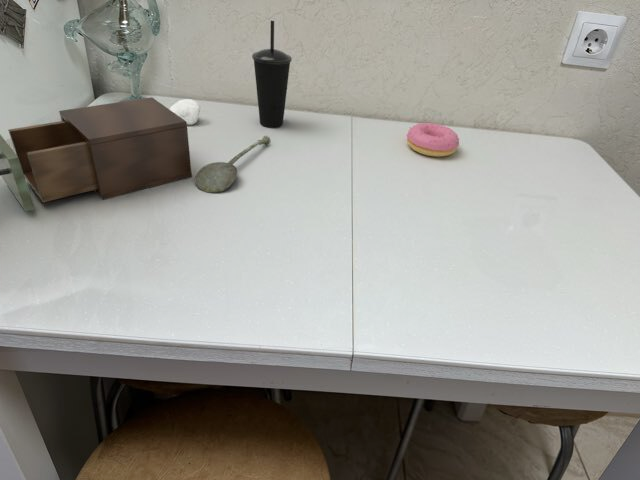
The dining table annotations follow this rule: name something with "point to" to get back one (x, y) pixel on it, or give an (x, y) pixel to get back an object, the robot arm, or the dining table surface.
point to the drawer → (46, 163)
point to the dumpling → (187, 110)
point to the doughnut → (432, 139)
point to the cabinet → (132, 144)
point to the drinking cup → (271, 83)
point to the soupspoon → (222, 171)
